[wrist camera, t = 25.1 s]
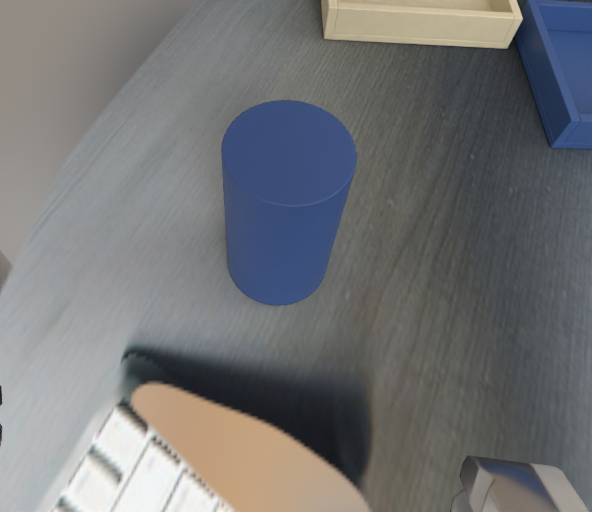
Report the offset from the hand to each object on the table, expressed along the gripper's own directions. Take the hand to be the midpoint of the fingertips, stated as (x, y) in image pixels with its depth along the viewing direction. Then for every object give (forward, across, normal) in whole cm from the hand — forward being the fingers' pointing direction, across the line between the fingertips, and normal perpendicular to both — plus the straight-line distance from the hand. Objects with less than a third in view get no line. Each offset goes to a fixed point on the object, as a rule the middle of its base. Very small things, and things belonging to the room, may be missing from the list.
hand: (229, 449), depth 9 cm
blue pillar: (+19, 0, +2) cm, 19 cm away
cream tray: (+36, -6, -15) cm, 40 cm away
